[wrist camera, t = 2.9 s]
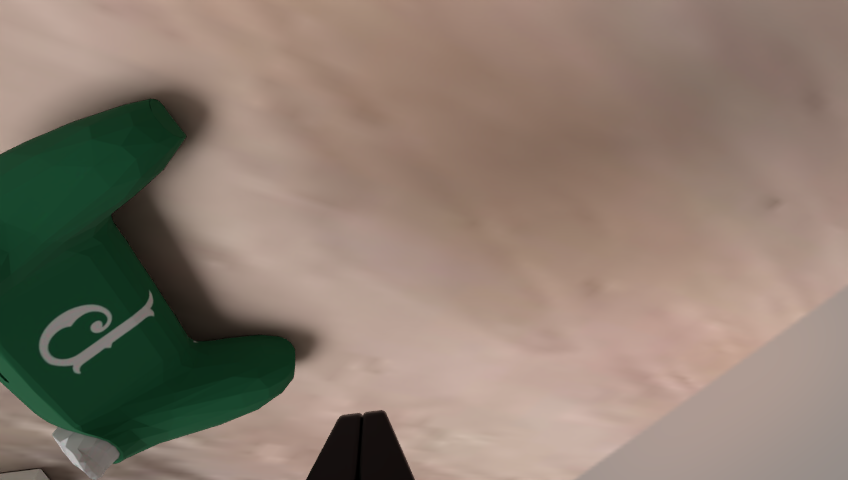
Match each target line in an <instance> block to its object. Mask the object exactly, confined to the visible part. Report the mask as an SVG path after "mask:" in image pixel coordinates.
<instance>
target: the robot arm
mask: <svg viewBox="0 0 848 480" xmlns="http://www.w3.org/2000/svg"><path fill="white" fill-rule="evenodd" d="M306 480H415V479H414V477H413V474H412V472H411V470H410V467H409V465H408V463H407V460H406V458H405V456H404V453H403V451H402V449H401V447H400V444H399V442H398V440H397V437H396V435H395V433H394V430H393V428H392V426H391V423H390V421H389V419H388V416H387V414H386V412H385V411H383V410H379V411H371V412H366V413H364V414H363V415H362V414H360V413H355V414H347V415H342V416H340V417H339V419H338V420H337V422H336V424H335V426H334V428H333V430H332V431H331V433H330V435H329V437H328V439H327V441H326V443H325V445H324V447H323V449H322V450H321V452H320V454H319V456H318V458H317V460H316V462H315V464H314V466H313V467H312V469H311V471H310V473H309V475H308V477H307V479H306Z"/></svg>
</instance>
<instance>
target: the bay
mask: <svg viewBox="0 0 848 480" xmlns="http://www.w3.org/2000/svg"><path fill="white" fill-rule="evenodd" d="M0 480H49V478H48V477H47V476H46V475H45V474H44V472H43V471H42V470H41V469H34V470H26V471H18V472H10V473H2V474H0Z"/></svg>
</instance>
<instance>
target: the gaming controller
mask: <svg viewBox="0 0 848 480" xmlns="http://www.w3.org/2000/svg"><path fill="white" fill-rule="evenodd" d="M186 137H187V136H186V135H185V133H184V132H183V131H182V130H181V128H180V127H179V126H178V125H177V123H176V122H175V121H174V119H173V118H172V117H171V116H170V114H169V113H168V112H167V110H166V109H165V107H164V106H163V105H162V104H161V103H160V102H159V101H158V100H156V99H148V100H143V101H139V102H134V103H130V104H125V105H122V106H119V107H116V108H113V109H110V110H107V111H104V112H101V113H98V114H95V115H92V116H89V117H86V118H83V119H80V120H77V121H74V122H71V123H69V124H67V125H64V126H62V127H59V128H57V129H55V130H52V131H50V132H48V133H45V134H43V135H41V136H38V137H36V138H33V139H31V140H29V141H26V142H24V143H22V144H20V145H18V146H16V147H14V148H12V149H10V150H8V151H6V152H4V153H2V154H0V382H1V383H2V384H3V385H4V386H6V387H7V388H8V389H9V390H10V391H11V392H12V393H13V394H14V395H15V396H16V397H18V398H19V399H20V400H21V401H22V402H23V403H24V404H25V405H26V406H27V407H28V408H30V409H31V410H32V411H33V412H34V413H35V414H37V415H38V416H40V417H41V418H43V419H44V420H45V421H47V422H49V423H51V424H53V425H56V426H58V427H57V429H56V430H55V431H54V433H53V434H52V435H53V437H54V438H55V440H56V442H57V443H58V445H59V446H60V448H61V449H62V451H63V452H64V454H65V455H67V457H68V458H69V459H70V461H71V462H72V463H73V464H74V465H75V466H77V467H78V468H80V469H81V470H82V471H84V472H85V473H86V474H87V475H88V477H89V478H91V479H93V480H97V479H98V478H100V477H102V476H103V474H104V472H105V470H107V469H108V468H109V467H110V466H111V465H112V464H116V463H119V462H121V461H123V460H124V459H126V458H128V457H131V456H133V455H135V454H137V453H139V452H141V451H144V450H146V449H148V448H150V447H152V446H155V445H157V444H159V443H162V442H165V441H169V440H172V439H175V438H179V437H182V436H185V435H188V434H192V433H195V432H198V431H201V430H205V429H208V428H211V427H214V426H218V425H221V424H223V423H226V422H228V421H231V420H233V419H236V418H238V417H241V416H243V415H245V414H248V413H250V412H253V411H255V410H258V409H259V408H261V407H262V406H263V405H265V404H266V403H268V402H269V401H271V400H272V399H273V398H275V397H276V396H278V395H279V394H281V393H282V392H283V391H284V390H285V388H286V387H287V386H288V384H289V383H290V382H291V381H292V379H293V378H294V372H295V349H294V347H293V345H292V344H291V343H290V342H289V341H288V340H287V339H284V338H282V337H278V336H268V335H252V336H243V337H234V338H226V339H219V340H212V341H194V340H192V339H191V338H190V337H188V336H187V334H186V333H185V331H184V329H183V328H182V326H181V324H180V323H179V321H178V319H177V318H176V316H175V315H174V313H173V312H172V310H171V309H170V307H169V306H168V304H167V303H166V301H165V299H164V298H163V296H162V295H161V293H160V292H159V290H158V288H157V287H156V285H155V284H154V282H153V281H152V279H151V278H150V276H149V275H148V273H147V272H146V270H145V269H144V267H143V266H142V264H141V263H140V261H139V260H138V258H137V257H136V255H135V253H134V252H133V250H132V249H131V247H130V246H129V244H128V242H127V241H126V239H125V238H124V237H123V235H122V234H121V233H120V231H119V230H118V228H117V227H116V225H115V224H114V222H113V221H112V217H111V214H112V213H113V212H115V211H116V210H117V209H118V208H120V207H121V206H122V205H123V204H125V203H126V202H127V201H128V200H130V199H131V198H132V197H133V196H135V195H136V194H137V193H138V192H139V191H140V190H141V189H143V188H144V187H145V186H146V185H147V184H148V183H149V182H150V181H151V180H152V179H154V178H155V177H156V176H157V175H158V174H159V173H160V172H161V171H162V170H164V168H165V167H166V165H167V164H168V162H169V161H170V160H171V158H172V157H173V155H174V154H175V152H176V151H177V150H178V148H179V147H180V145H181V144H182V142H183V141H184V139H185V138H186Z"/></svg>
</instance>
